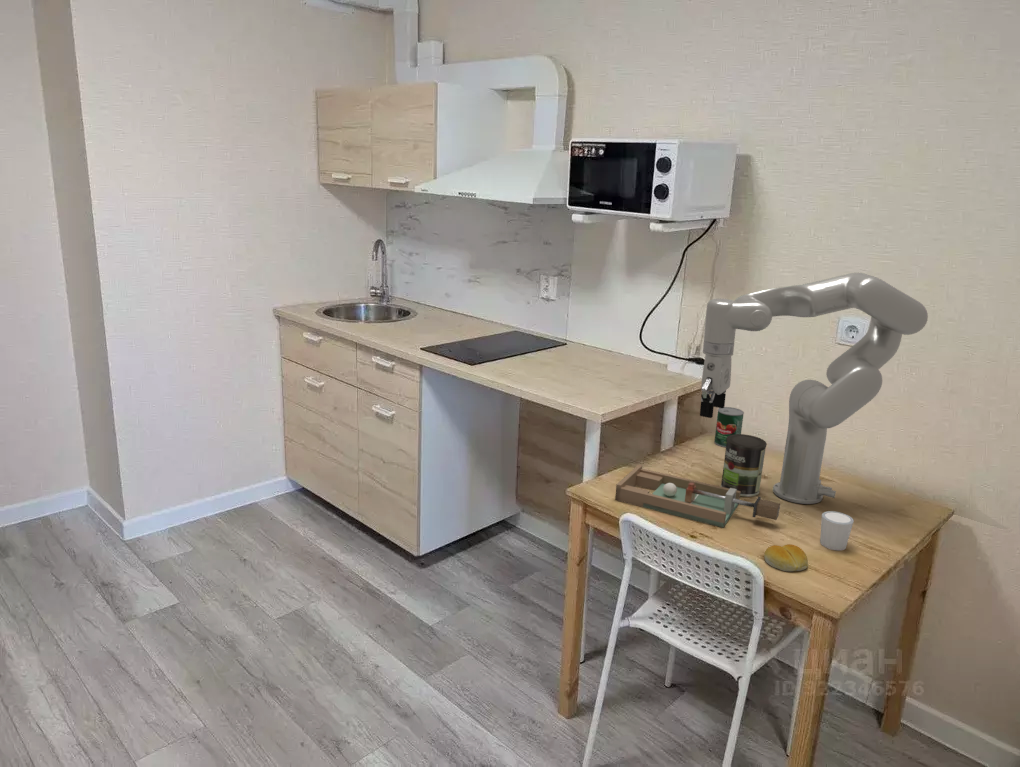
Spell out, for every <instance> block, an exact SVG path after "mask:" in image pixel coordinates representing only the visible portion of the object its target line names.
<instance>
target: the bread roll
mask: <svg viewBox="0 0 1020 767" xmlns="http://www.w3.org/2000/svg"><path fill="white" fill-rule="evenodd" d="M764 561H765V562H766V564H768V565H769V566H771V567H772V568H775V569H777V570H781V571H783V572H795V571H797V572H799V571H801V572H802V571H803V570H806V569H807V568H808V567H809V562H808V557H807V554H806V553H805V551H804V550H803V549H802V548H801V547H800V546H798V545H795V544H791V543H789V544H788V543H787V544H784V545H782V546H781V545H777V544H773V545H770V546H768V547H767V548H766V549H765V551H764Z"/></svg>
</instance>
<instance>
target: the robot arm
mask: <svg viewBox="0 0 1020 767" xmlns="http://www.w3.org/2000/svg"><path fill="white" fill-rule="evenodd" d="M848 309H856V310H859V311H862V312H863V313H865V314H867V315H869V317H870V325H869V327H868V330H867V331H866V334H864V336H863V337H862V338H860V339H859V340H858V341H857V342H856V343H855V344H853V345H852V346H851V347H850V348H848V349H846V350H845V351H844V352H843V353H842V354H840V355H838V357H836V358H835V359H834V360H832V362H830V364H829V365H828V367H827V368H826V375H825V376H826V378H827V381H828V382H829V383H830V385H829V386H827V385H826V384H824V383H822V382H820V381H818V380H816V379H805V380H801V381H799V382H798V383H797V384H795V385H794V386H793V388H792V389H791V392H790V394H789V400H788V427H787V433H786V434H787V435H786V439H785V445H784V452H783V460H782V465H781V474H780V479H779V480H780V481H778V482H776V483H775V484H773V486H772V492H773V493H774V495H776V496H777V497H779V498H780V499H782V500H784V501H788V502H791V503H795V504H800V505H801V504H803V505H814V504H817V503H818V504H819V503H820V502H821V501H823V497H828V498H832V499H835V498H836V492H837V491H836V490H833V487H831V486H825V485H823V484H822V479H820V476H821V470H822V464H823V459H824V457H823V456H824V452H825V446H826V440H827V432H828V429H831V428H834V427H836V426H838V425H840V424H842V423H843V422H845V421H846V420H847V419H849V418H850V417H851V416H853V415H854V414H856V413H857V412H858V411H860V410H861V409H862V408H863V407H865V406H866V405H867V404H868V403H869V402H871V401H872V400H873V399H874V398H876V396H878V394H879V392H880V391H881V388H882V385H883V375H882V373H881V371H880V369H881V368H882V367H884V366H885V365H886V364H887V363H888V362H889V361H890V360H892V358H894V356H895V355H896V353H897V352H898V350H899V347H900V344H901V343H902V337H903V335H904V336H906V335H907V336H909V335H914V334H917V333H919V332H920V331H922V330H923V329H924V328H925V327H926V324H927V323H928V318H929V315H928V311H927V308H926V307H925V305H924V304H922V303H921V301H918V300H917V299H915V298H914V297H911V296H910V295H908V294H906V293H905V292H903V291H901V290H899V289H898V288H896V287H895V286H893V285H891V284H890V283H888V282H886V281H885V280H883V279H881V278H879V277H877V276H875V275H874V276H873V275H871V274H868V273H863V272H851V273H846V274H843V275H842V274H841V275H838V276H835V277H829V278H826V279H822V280H817V281H813V282H809V283H803V284H796V285H795V284H794V285H790V286H781V287H774V288H768V289H762V290H758V291H754V292H750V293H746V294H743V295H741V296H738V297H737V298H735V299H734V300H733V299H729V298H713V299H710V300H709V301H708V302H707V305H706V313H705V323H704V335H703V345H702V354H704V355H705V357H704V362H703V366H702V367H703V368H702V376H701V389H700V390H701V396H700V397H701V399H700V410H699V416H700V417H703V418H704V417H705V418H709V419H713V416H714V408H718V409H719V408H724V407H726V406H725V405H726V393H727V391H728V390H729V388H730V386H731V381H732V380H731V379H732V378H731V377H732V357H733V355H734V350H735V349H734V348H735V341H736V340H735V339H736V331H737V330H743V331H750V332H760V331H763V330H765V329H766V328H768V327H769V326H770V325H771V323H772V319H773V317H774V318H775V317H782V316H783V317H785V316H786V317H797V318H815V317H819V316H824V315H829V314H831V313H836V312H840V311H844V310H848Z"/></svg>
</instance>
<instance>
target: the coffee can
mask: <svg viewBox="0 0 1020 767" xmlns="http://www.w3.org/2000/svg"><path fill="white" fill-rule="evenodd" d="M726 441H727V444H726V447H725V453H724V462H723V468H722V469H723V470H722V476H721V482H720V487H724V488H729V489H730V488H734V489H737V491H741V493H740V497H743V498H745V497H755V496H758V495H759V494H760V488H761V482H762V475H763V467H764V461H765V455H766V448H767V445H768V444H767V441H766V440H764V439H763V438H760V437H758V436H756V435H750V434H744V433H743V434H742V433H741V434H734V435H730V436H728V437H727V439H726Z"/></svg>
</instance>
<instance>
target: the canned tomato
mask: <svg viewBox="0 0 1020 767" xmlns="http://www.w3.org/2000/svg"><path fill="white" fill-rule="evenodd" d="M744 414H745V412H744V411H743V410H742V409H739V408H737V407H730V406H724V408H718V409H717V417H716V426H715V434H714V444H715V445H717V446H719V447H723V448H726V444H727V441H726V439H727V437H728V436H730V435H734V434H742V431H743V423H744V422H743V421H744Z"/></svg>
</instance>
